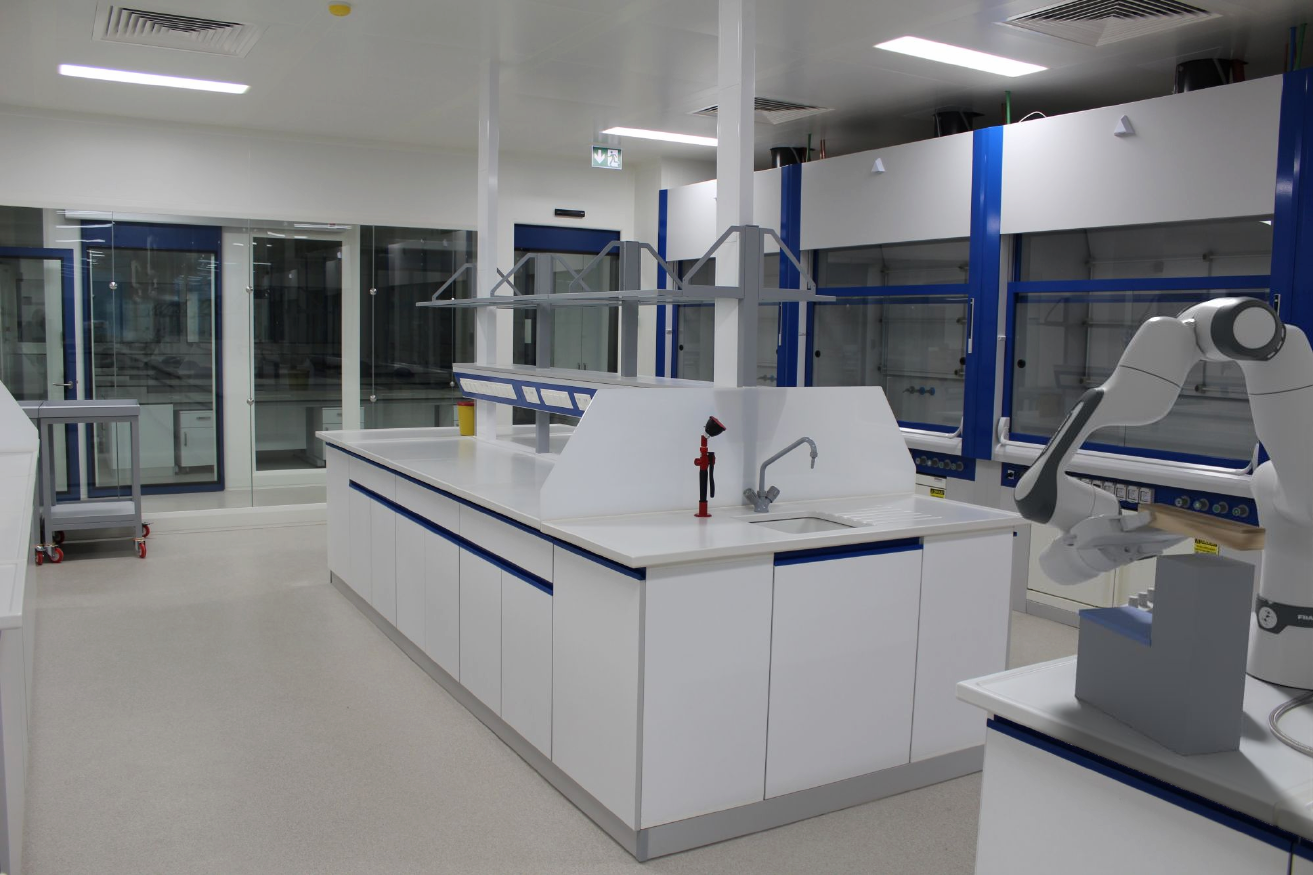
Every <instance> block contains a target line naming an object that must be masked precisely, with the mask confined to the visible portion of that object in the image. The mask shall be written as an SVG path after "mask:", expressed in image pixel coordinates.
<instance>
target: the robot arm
mask: <svg viewBox="0 0 1313 875" xmlns="http://www.w3.org/2000/svg"><path fill="white" fill-rule="evenodd" d="M1199 361H1202V362H1203V361H1204V362H1205V361H1208V362H1215V363H1217V362H1218V363H1222V362H1223V363H1224V362H1225V363H1226V362H1230V361H1235V362H1236V363H1237V364H1238V365H1239V367H1240V368H1241V370H1242V372H1243V374H1244V377H1245V378H1244V379H1245V385H1246V391H1247V396H1248V400H1249V406H1250V410H1251V416H1252V421H1253V425H1254V430H1255V434H1256V436H1257V438H1258V441H1260V443H1261V444H1262V446H1263V447H1264V450H1265V451H1266V454H1267V456H1268V458H1269V460H1267V461H1265V462H1263V463H1261V464H1260V465H1259V466H1257V467H1256V469H1255V470H1254V471H1253V473H1252V474H1251V477H1250V482H1249V487H1250V488H1249V489H1250V492H1251V495H1252V497H1253V499H1254V501H1255V505H1256V509H1257V511H1256V512H1257V519H1258V525H1259V526H1258V527H1261V528H1265V529H1266V532H1265V545H1264V550H1261V552H1262V553H1261V554H1262V556H1261V558H1262V559H1261V570H1260V571H1261V572H1260V584H1259V593H1257V594H1256V596H1255V597H1256V598H1255V601H1254V605H1255V606H1254V614H1255V615H1256V618H1254V620H1253V622H1252V627H1251V630H1250V631H1251V632H1250V634H1249V644H1248V655H1247V667H1246V674H1249V675H1251V676H1252V677H1255V678H1258V679H1260V680H1264V681H1266V682H1270V683H1273V684H1278V685H1282V686H1287V687H1292V688H1298V689H1305V690H1313V350H1312V347H1311V344H1310V342H1309V339H1308V337H1307V335H1306V334H1305V332H1304V331H1303V329H1300V328H1299V327H1298V326H1295V325H1291V324H1286V323H1284V322H1283V321H1282V320H1281V318H1280V316H1279V314H1278V313H1277V311H1276V310H1275V309H1274V308H1273V307H1272V305H1270V304H1269V303H1268V302H1266V301H1264V300H1262V299H1259V298H1255V297H1250V296H1238V297H1229V296H1228V297H1218V298H1214V299H1211V300H1209V301H1201V302H1197V303H1193V304H1191V305H1189V306H1187V307H1185V308H1184V309H1182V310H1181V311H1180V312H1178V314H1176V315H1175V316H1174V317H1171V316H1154V317H1151V318H1149V319H1147V320H1146V321H1145V322H1144V323H1143V324H1141V326H1140V327H1139V329H1138V330H1137V331H1136V333H1135V334H1134V336H1133V337H1132V339H1131V340H1130V342H1129V343H1128V345H1127V346H1126V348H1125V350H1124V352H1123V353H1122V355H1121V358H1120V359H1119V362H1118V363H1117V365H1116V368H1115V370H1114V371H1113V373H1112V375H1110V377H1108V379H1107V380H1105V382H1104V383H1103V384H1101V385H1100V386H1099V387H1093V388H1089V389H1087V391H1085V392H1084V393H1083V394H1082V395H1081V396H1080V397H1079V399H1078V400H1077V401H1076V402H1075V404H1073V405H1072V408H1071V409H1070V410H1069V412H1068V413H1067V415H1066V416H1064V418H1063V420H1062V422H1061V423H1060V425H1059V426H1058V428H1056V430H1055V432H1054V434H1053V435H1052V437H1050V439H1049V440H1048V442H1047V443H1046V445H1045V447H1043V448H1044V449H1043V450H1042V451H1041V452H1040V453H1039V455H1038V456H1037V458H1036V459H1035V461H1033V463H1032V464H1031V465H1030V466H1029V467H1028V468H1027V469H1026V471H1025V472H1024V473H1023V474H1022V476H1021V477H1020V478H1019V479H1018V482H1016V485H1015V488H1014V490H1013V500H1014V503H1015V506H1016V508H1017V510H1018V513H1019V514H1020V516H1021V517H1022V519H1025V520H1028V521H1031V522H1034V523H1038V524H1040V525H1045V526H1048V527H1050V528H1052V529H1055V530H1058V531H1059V533H1058V535H1057V537H1056V539H1055V540H1053V541H1052V542H1051V543H1049V544H1048V545H1046V547H1044V548H1043V550H1042V551H1040V553H1039V555H1038V565H1039V567H1040V570H1041V571H1042V573H1043V574H1044V575H1045V576H1046V578H1047V579H1048V580H1050V581H1052V582H1053V583H1054V584H1058V585H1060V586H1067V587H1068V586H1075V585H1080V584H1083V583H1086V582H1088V581H1091V580H1094V579H1096V578H1098V577H1100V575H1102V574H1103V573H1108V572H1109V573H1110V572H1112V571H1114V570H1116V569H1119V568H1122V567H1125V566H1128V565H1129V564H1132V563H1135V562H1139V561H1145V560H1148V559H1153V558H1157V556H1158V555H1164V550H1167V549H1170V548H1172V547H1175V546H1177V545H1179V544H1181V543H1183V542H1185V541H1186V540H1189V539H1191V537H1188V536H1184V535H1180V534H1177V533H1173V532H1169V531H1166V530H1162V529H1158V528H1155V527H1151V526H1147V525H1145V524H1151V523H1152V522H1155V521H1156V516H1155V512H1154V511H1152V510H1151V511H1143V512H1141V513H1139V514H1138V513H1134V514H1123V510H1122V507H1121V503H1120V501H1119V499H1118V497H1117V496H1116V495H1115V494H1113V493H1110V492H1108V491H1107V490H1104V489H1102V488H1100V487H1098V486H1095V485H1092V484H1090V483H1086V482H1084V481H1082V480H1079V479H1077V478H1074V477H1072V476H1071V475H1067V474H1066V473H1065V472H1066V469H1067V467H1068V466H1069V465H1070V462H1071V461H1072V459H1073V458H1074V457H1075V455H1076V453H1077V452H1078V451H1079V449H1080V448H1081V446H1082V445H1083V443H1084V442H1085V440H1086V439H1087V437H1088V436H1089V435H1090V434H1091V433H1092V432H1094V431H1095V430H1097V429H1100V428H1103V427H1109V426H1123V427H1124V426H1125V427H1130V426H1131V427H1136V426H1137V427H1138V426H1139V427H1140V426H1146V425H1149V424H1152V423H1155V422H1157V421H1160V420H1161V419H1163V418H1164V417H1166V416H1167V414H1168V413H1169V412H1170V411H1171V409H1172V408H1173V406H1174V404H1175V403H1176V401H1177V398H1178V397H1179V394H1180V393H1181V390H1182V387H1183V385H1184V383H1185V381H1186V380H1187V376H1188V373H1189V372H1190V371H1191V369H1192V368H1193V367H1194V366H1195V365H1196V364H1197V362H1199Z"/></svg>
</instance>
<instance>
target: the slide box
mask: <svg viewBox="0 0 1313 875" xmlns="http://www.w3.org/2000/svg"><path fill="white" fill-rule="evenodd" d="M1151 510H1152V511H1154V512H1155V516H1156V521H1155V522H1152V523H1151V524H1145V525H1147V526H1151V527H1155V528H1158V529H1162V530H1166V531H1169V532H1173V533H1177V534H1180V535H1184V536H1188V537H1191V538H1193V539H1196V540H1199V541H1203V542H1206V543H1210V544H1214V545H1216V546H1217V545H1218V546H1221V547H1225V548H1229V549H1232V550H1236V551H1239V552H1244V551H1245V552H1246V551H1247V552H1248V551H1249V552H1250V551H1262V550H1264V545H1265V532H1266V529H1265V528H1261V527H1259V526H1256V525H1252V524H1247V523H1245V522H1241V521H1236V520H1232V519H1227V518H1223V517H1220V516H1219V517H1218V516H1215V515H1211V514H1207V513H1203V512H1198V511H1194V510H1189V509H1186V508H1183V507H1182V508H1181V507H1177V506H1173V505H1169V504H1165V503H1160V502H1158V503H1157V502H1154V503H1138V504H1137V514H1139V513H1141V512H1143V511H1151ZM1191 538H1190V539H1191Z"/></svg>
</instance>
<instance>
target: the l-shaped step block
mask: <svg viewBox="0 0 1313 875" xmlns="http://www.w3.org/2000/svg"><path fill="white" fill-rule="evenodd" d="M1155 562H1156V563H1155V574H1154V575H1155V576H1154V577H1155V578H1154V587H1153V588H1154V600H1153V614H1151V613H1148V612H1146V611H1143V610H1140V609H1138V608H1135V607H1133V606H1124V607H1120V606H1113V607H1111V606H1110V607H1097V608H1096V607H1095V608H1084V609H1083V608H1082V609H1078V616H1079V625H1078V626H1079V628H1078V638H1077V639H1078V643H1077V653H1076V654H1077V657H1076V672H1075V684H1074V685H1075V687H1074V688H1075V689H1074V697H1075V698H1078V699H1079V700H1082V701H1083V702H1085V703H1087V704H1089V705H1091V706H1093V707H1094V708H1096V709H1098V710H1100V711H1101V712H1103V713H1105V714H1106V715H1108V716H1110V717H1113V719H1116V720H1117V721H1120V722H1121V723H1123V724H1125V725H1127V727H1128V726H1129V727H1130V728H1132V729H1134V730H1136V731H1137V732H1140V733H1141V734H1143V735H1145V736H1146V737H1149V738H1151V739H1153V740H1154V741H1156V742H1158V743H1160V744H1161V745H1163V746H1165V747H1167V748H1168V749H1170V750H1172V751H1174V752H1176V753H1178V754H1180V755H1181V756H1184V757H1185V756H1186V757H1187V756H1194V755H1202V754H1212V753H1221V752H1229V751H1238V750H1240V747H1241V746H1240V745H1241V734H1242V726H1243V725H1242V724H1243V723H1242V722H1243V712H1244V711H1243V709H1244V700H1245V697H1244V696H1245V686H1246V678H1247V675H1246V674H1247V672H1246V667H1247V655H1248V645H1249V640H1250V633H1251V632H1250V631H1251V630H1250V629H1251V618H1252V608H1253V607H1252V606H1253V596H1254V584H1255V583H1254V582H1255V570H1256V565H1255V564H1253V563H1249V562H1247V561H1246V562H1245V561H1242V560H1239V559H1235V558H1232V557H1229V556H1224V555H1222V554H1221V555H1220V554H1217V553H1214V552H1202V553H1200V552H1199V553H1196V552H1195V553H1183V554H1181V553H1180V554H1162V555H1158V556H1157V557H1156V560H1155Z"/></svg>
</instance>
